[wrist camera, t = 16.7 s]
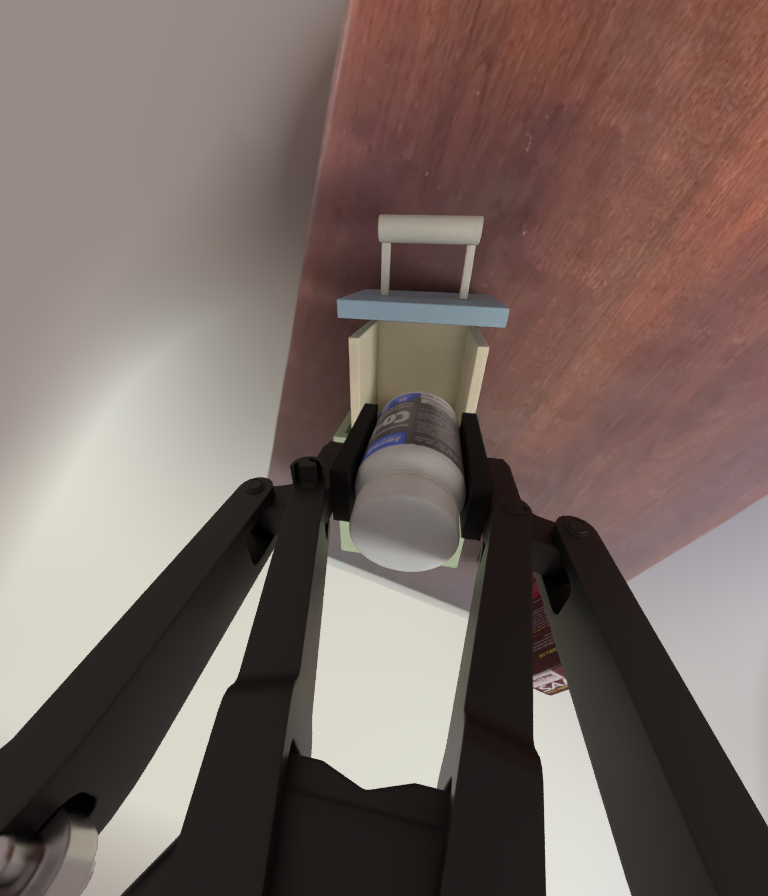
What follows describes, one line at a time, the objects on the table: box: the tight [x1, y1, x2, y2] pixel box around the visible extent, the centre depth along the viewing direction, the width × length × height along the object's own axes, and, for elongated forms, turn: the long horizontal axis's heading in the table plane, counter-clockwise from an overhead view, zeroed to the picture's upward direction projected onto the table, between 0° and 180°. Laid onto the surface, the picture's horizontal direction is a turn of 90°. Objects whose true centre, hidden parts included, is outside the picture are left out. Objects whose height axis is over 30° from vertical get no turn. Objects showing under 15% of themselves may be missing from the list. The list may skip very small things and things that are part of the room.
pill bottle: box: [349, 391, 466, 572], centre depth 14 cm, size 5×5×8 cm
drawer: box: [337, 214, 510, 428], centre depth 26 cm, size 18×11×9 cm, turn 178°
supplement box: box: [532, 571, 569, 695], centre depth 37 cm, size 9×5×16 cm, turn 151°
